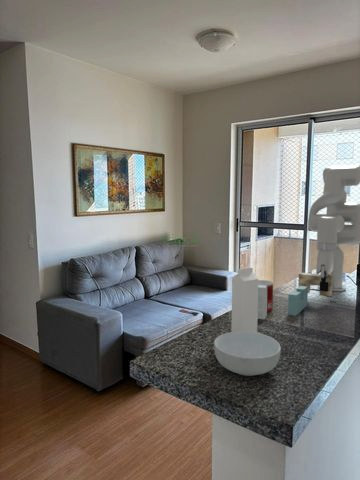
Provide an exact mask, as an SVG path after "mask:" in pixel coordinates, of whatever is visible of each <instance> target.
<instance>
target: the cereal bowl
mask: <svg viewBox="0 0 360 480" xmlns="http://www.w3.org/2000/svg"><path fill="white" fill-rule="evenodd" d="M213 348H214V350H213V351H214V354H215V357H216V360H217V361H218V363H219V364H220V365H221V366H222V367H224V368H225V369H226V370H228V371H230V372H233V373H236V374H238V375H240V376H246V377H250V376H257V375H262V374H266V373H268V372H270V371H271V370H272V371H273V369H274V368H275V367H276V366H277V365H278V363H279V362H280V361H279V360H280V359H281V354H282V353H281V350H282V348H281V345H280V343H279V342H278V341H277V340H276V339H275V338H273V337H271V336H269V335H266V334H264V333H260V332H257V333H256V332H249V331H235V332H231V331H230V332H225V333H222V334H219V335H218V336H216V338H215V339H214V342H213Z"/></svg>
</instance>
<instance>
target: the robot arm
mask: <svg viewBox="0 0 360 480" xmlns="http://www.w3.org/2000/svg"><path fill="white" fill-rule="evenodd" d="M322 180H323V183H324V185H323V191H322V195H321V196H319V197H318V198H317V199H316V200H314V202H313V203H312V205H311V206H310V209H309V213H308V220H307V226H308V229H309V230H310V231H311V232H317V233H316V250H317V251H318V252H317V258H316V269H315V271H316V272H315V274H319V275H320V286H318V285H317V288H318V290H319V292H320V291H325V292H327V291H328V276H333V278H332V292H344V291H346V288H347V287H346V286H345V285H343V279H344V257H345V254H344V251H343V249H342V248H341V247H340V245H347V246H356V245H359V244H360V203H357V202H347V196H348V195H347V192H346V191H345V187H353V186H354V187H355V186H359V184H360V165H359V164H352V165H351V164H350V165H331V166H327V167H325V168H324V169H323V171H322ZM325 208H326V214H323V213H321V214H320V213H319V212H320V211H322V210H323V209H325ZM347 223H348V224H347ZM325 276H326V277H325Z"/></svg>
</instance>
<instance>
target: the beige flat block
mask: <svg viewBox="0 0 360 480" xmlns="http://www.w3.org/2000/svg"><path fill="white" fill-rule="evenodd" d="M325 277H326V276H325ZM332 278H333V276H328V291H327V292H325V291H320V290H319V296H324V297H331V296H332V295H333V294H332V293H333V291H332ZM297 284H298V286H297V288H298V287H299V286H307V287H308V294H310V292H311V285H312V286H317V287H318V286H320V273H319V274H316V273H308V272H299V273H298V283H297Z"/></svg>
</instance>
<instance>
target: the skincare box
mask: <svg viewBox="0 0 360 480" xmlns="http://www.w3.org/2000/svg"><path fill="white" fill-rule="evenodd" d="M267 316H268V312H267V285H258V320H265V319H266V318H267Z"/></svg>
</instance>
